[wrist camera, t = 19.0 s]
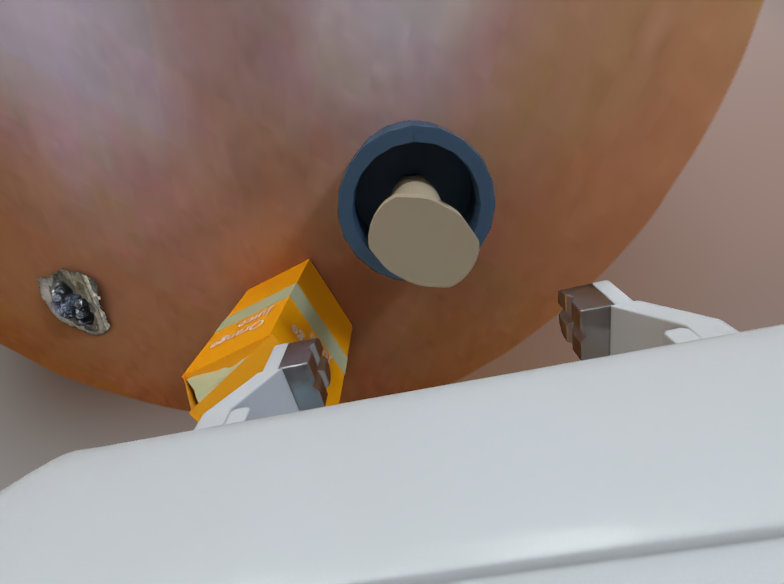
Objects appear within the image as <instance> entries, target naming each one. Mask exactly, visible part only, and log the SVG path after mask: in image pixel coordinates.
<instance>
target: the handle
mask: <svg viewBox="0 0 784 584" xmlns="http://www.w3.org/2000/svg"><path fill="white" fill-rule="evenodd" d="M368 244H369V248H370V250H371V251H372V252H373V253H374V255H375V256H376V257H377V259H378V260H379V261H380V262H381V263H382V264H383V266H384V267H385V268H387V269H388V270H389V271H390V272H392V273H393V274H395V275H397V276H399V277H401V278H403V279H405V280H407V281H409V282H411V283H414V284H417V285H420V286H426V287H451V286H453V285H455V284H457V283H458V282H460V281H461V280H462V279H463V278H464V277H465V276H466V275H467V274H468V273H469V272H470V270H471V269H472V267H473V265H474V264H475V262H476V259H477V256H478V253H479V240H478V238H477V237H476V235H475V234H474V232H473V231H472V229H471V228H470V226H469V225H468V224H467V222H466V221H465V219H464V218H463V217H462V216H461V214H460V213H459V212H458V211H457V210H456V209H454V208H453V207H451V206H449V205H448V204H446V203H444V202H442V201H441V200H440V197H439V195H438V193H437V191H436V189H435V188H434V187H433V185H432V184H431V183H430V182H429V181H427V180H426V179H425V178H424V177H423V176H421V175H416V176H415V175H412V176H407V177H406V176H403V177H401V178H400V179H399V182H398V183H397V184H396V185H395V187H394V188H393V191H392V193H391V196H390V197H389V198H387V199H386V200H385V201H384V202H383V203H382V204H381V205H380V206H379V208H378V209H377V211H376V213H375V214H374V216H373V219H372V221H371V224H370V229H369V233H368Z"/></svg>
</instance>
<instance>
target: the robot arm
mask: <svg viewBox="0 0 784 584" xmlns="http://www.w3.org/2000/svg"><path fill="white" fill-rule="evenodd" d="M558 303H559V304H560V306H561V307H562V308H563V309H562V311H561V312H560V314H559V322H560V327H561V331H562V333H563V336H564V338H565V339H566V340H567V342H570V343H572V344H573V350H574V351H575V353H576V354H577V356H578V357H579V358H580V360H581V361H577V362H571V363H565V364H560V365H554V366H549V367H543V368H538V369H533V370H526V371H521V372H516V373H510V374H504V375H499V376H494V377H488V378H482V379H476V380H471V381H466V382H460V383H454V384H448V385H443V386H437V387H432V388H426V389H420V390H415V391H409V392H404V393H398V394H392V395H387V396H381V397H376V398H370V399H364V400H359V401H353V402H348V403H342V404H336V405H331V406H325V405H326V400H327V396H328V393H327V390H326V388H327V387H328V386H329V385H330V381H331V373H330V367H329V363H328V360H327V358H325V357H324V356H322V351H323V346H322V344H321V341H320V340H319V339H318V338H313V339H307V340H301V341H296V342H291V343H284V344H280V345H276V346H274V348H273V350H272V353H271V355H270V357H269V359H268V361H267V363H266V365H265V368H264V370H263V372H260V373H257V374H256V375H255V376H253V377H252V378H251V379H249V380H248V381H247V382H245V383H244V384H243V385H241V386H240V387H239V388H237V389H236V390H235V391H233V392H232V393H231V394H229V395H228V396H227V397H225V398H224V399H223V400H221V401H220V402H219V403H217V404H216V405H215V406H213V407H212V408H211V409H209V410H208V411H207V412H205V413H204V414H203V415H202V417H201V419H200V420H199V422H198V424H197V426H196V428H195V429H194V430H192V431H186V432H181V433H175V434H170V435H164V436H158V437H153V438H148V439H142V440H136V441H130V442H125V443H119V444H114V445H109V446H103V447H96V448H90V449H84V450H78V451H73V452H69V453H66V454H64V455H62V456H60V457H57V458H55V459H54V460H52V461H50V462H48V463H46V464H45V465H43V466H41V467H39V468H37V469H36V470H34V471H32V472H31V473H29V474H27V475H26V476H24V477H22V478H21V479H19V480H17V481H16V482H14V483H13V484H11V485H9V486H7V487H6V488H4V489H3V490H2V491H0V584H784V324H782V325H777V326H771V327H766V328H760V329H755V330H749V331H743V332H738V331H737V330H735V329H734V328H732V327H731V326H730V325H728V324H726V323H725V322H724V321H722V320H720V319H716V318H712V317H707V316H703V315H699V314H694V313H690V312H686V311H682V310H677V309H673V308H669V307H664V306H660V305H656V304H651V303H647V302H643V301H632V300H631V299H630V298H629V297H628V296H626V295H625V294H624V293H623V292H622V291H620V290H619V289H618V288H617V287H615V286H614V285H613V284H612V283H611V282H610V281H607V280H605V281H600V282H596V283H591V284H587V285H582V286H577V287H573V288H568V289H564V290H560V291H559V293H558Z"/></svg>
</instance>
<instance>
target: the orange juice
mask: <svg viewBox="0 0 784 584" xmlns="http://www.w3.org/2000/svg"><path fill="white" fill-rule="evenodd" d="M352 327H353V326H352V324H351V323H350V321H349V320H348V318H347V316H346V315H345V313H344V312H343V310H342V309H341V307H340V306H339V304H338V302H337V301H336V299H335V298H334V296H333V295H332V293H331V292H330V290H329V288H328V287H327V285H326V284H325V282H324V281H323V279H322V278H321V276H320V275H319V273H318V271H317V270H316V268H315V267H314V265H313V264H312V262H311V261H310V259H308V260H306V261H304V262H302V263H300V264H298V265H296V266H294V267H292V268H290V269H288V270H286V271H284V272H282V273H280V274H279V275H277V276H275V277H273V278H271V279H269V280H267V281H265V282H263V283H261V284H259V285H257V286H255V287H253V288H251V289H249V290H248V291H247V292H246V293H245V295H244V296H243V297H242V298H241V300H240V301H239V302H238V304H237V305H236V306H235V308H234V309H233V310H232V312H231V313H230V314H229V316H228V317H227V318H225V320H224V321H223V322H222V324H221V325H220V326H219V328H218V329H217V330H216V331H215V334H214V335H213V336H212V338H211V339H210V340H209V342H208V343H207V344H206V346H205V347H204V348H203V350H202V351H201V352H200V354H199V355H198V356H197V357H196V359H195V360H194V361H193V363H192V364H191V365H190V367H189V368H188V369H187V371H186V372H185V373H184V375H183V376H182V378H183V379H184V381H185V386H186V390H187V395H188V399H189V403H190V408H191V411H190V412H189V414H190V415H191V416H192V417H193V418H194V419H195V420H196V421H197V422H199V420H200V419H201V417H202V415H203V414H204V413H205V412H207V411H208V410H209V409H211V408H212V407H213V406H215V405H216V404H217V403H219V402H220V401H221V400H223V399H224V398H225V397H227V396H228V395H229V394H231V393H232V392H233V391H235V390H236V389H237V388H239V387H240V386H241V385H243V384H244V383H245V382H247V381H248V380H249V379H251V378H252V377H253V376H255V375H256V374H257V373H260V372H263V370H264V368H265V365H266V363H267V361H268V359H269V357H270V355H271V353H272V350H273V348H274V346H276V345H280V344H284V343H291V342H296V341H301V340H307V339H313V338H318V339H319V340H320V341H321V344H322V346H323V351H322V356H324V357H325V358H327V360H328V363H329V367H330V373H331V381H330V385H329V386H328V387H327V388H326V390H327V393H328V396H327V400H326V405H325V406H331V405H336V404H339V402H340V396H341V390H342V384H343V379H344V375H345V371H346V365H347V359H348V358H347V356H348V350H349V344H350V339H351V333H352Z"/></svg>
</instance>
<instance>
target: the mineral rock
mask: <svg viewBox="0 0 784 584" xmlns="http://www.w3.org/2000/svg"><path fill="white" fill-rule="evenodd" d="M71 273H72V274H70V273H69V271H68V270H65V269H63V268H62V269H61V270H58V272H57V274H54V273H53V272H52V274H50V278H49V279H46V278H44V277H42V278H39V277H37V278H38V280H39V281H37V282H38V283H39V284H40V287H39V288H40V292H41V295H42V299H43V300H45V301H46V303H47V304H46V305H47V306H48V307H50V308H49V309H50V311H51V312H52V313H53V314H54V315H55V316H56V317H57V318H58V319H60V321H62V322H63V323H68V324H69V326H71V327H72V326H74V327H75V326H76V327H77V328H79V330H81V329H82V330H83V331H85V332H88V333H89V334H92V335H100V334H104V333H105V331H108V327H110V325H109V324H108V323H107V322H106V321H107V320H106V317H107V316H106V314H105V312H103V311H102V310H101V309H100V308H99V306H100V305H99V304H100V303H98V302H99V300H100V299H101V297H100V296H97V291H98V290H97V288H98V286H97V285H95V281H93V280H92V279H91V278H90V277H89V276H87V275H86V276H85V275H83V274H82V273H79V272H74V271H73V272H71ZM98 299H99V300H98ZM100 307H101V306H100Z"/></svg>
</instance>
